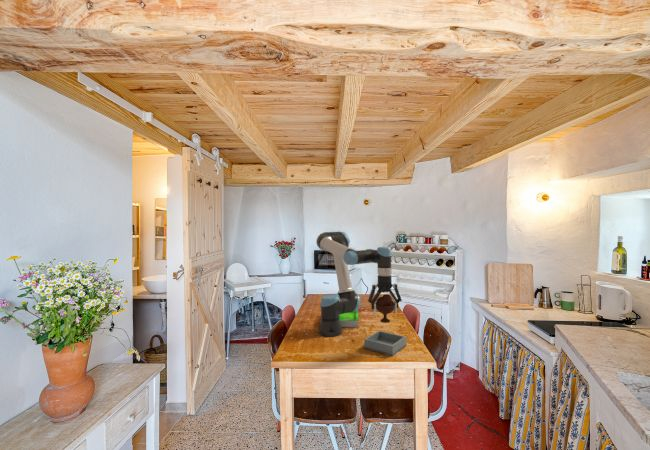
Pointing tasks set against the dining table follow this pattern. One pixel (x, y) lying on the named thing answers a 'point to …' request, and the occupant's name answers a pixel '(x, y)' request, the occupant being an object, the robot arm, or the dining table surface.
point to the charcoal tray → (385, 343)
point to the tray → (349, 319)
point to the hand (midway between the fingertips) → (385, 314)
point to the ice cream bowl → (385, 306)
